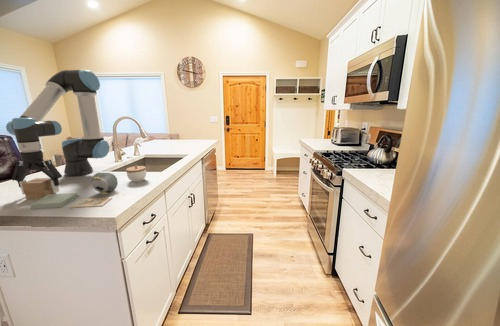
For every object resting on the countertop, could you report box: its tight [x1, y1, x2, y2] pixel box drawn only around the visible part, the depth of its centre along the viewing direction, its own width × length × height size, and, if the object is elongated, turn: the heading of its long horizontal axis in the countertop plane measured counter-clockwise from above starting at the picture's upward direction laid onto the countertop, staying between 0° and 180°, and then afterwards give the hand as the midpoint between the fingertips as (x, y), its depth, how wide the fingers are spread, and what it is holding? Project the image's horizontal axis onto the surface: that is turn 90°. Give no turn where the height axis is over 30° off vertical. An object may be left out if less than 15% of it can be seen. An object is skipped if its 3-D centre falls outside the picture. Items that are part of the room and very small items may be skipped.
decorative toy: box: [91, 172, 119, 195], centre depth 109 cm, size 12×10×20 cm
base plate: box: [29, 192, 79, 210], centre depth 100 cm, size 12×12×2 cm
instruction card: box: [69, 196, 113, 209], centre depth 99 cm, size 9×13×1 cm
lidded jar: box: [125, 165, 147, 183], centre depth 129 cm, size 11×11×9 cm
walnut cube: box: [22, 177, 55, 200], centre depth 107 cm, size 8×8×8 cm
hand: (41, 192), depth 107 cm, fingers open, 13 cm apart
